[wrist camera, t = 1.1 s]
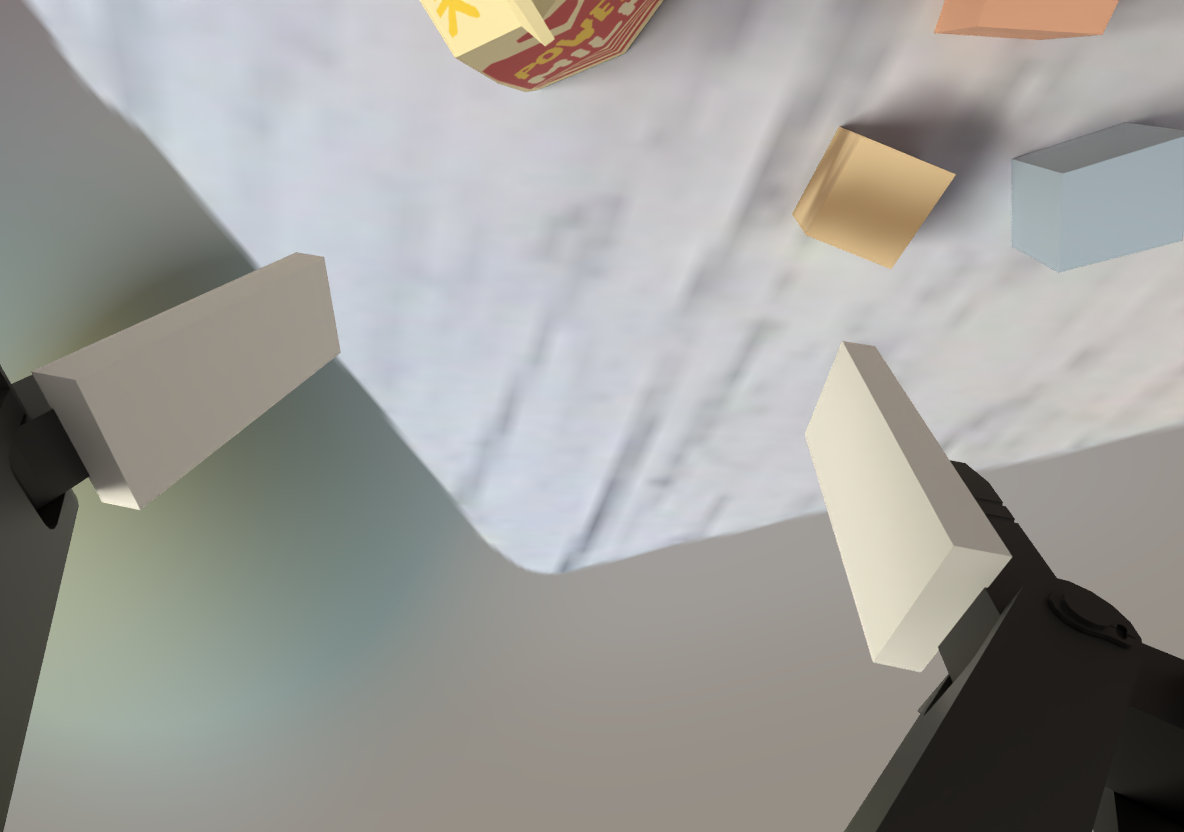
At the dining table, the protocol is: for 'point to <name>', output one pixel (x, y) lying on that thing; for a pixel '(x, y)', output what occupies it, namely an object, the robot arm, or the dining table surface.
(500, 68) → the milk carton
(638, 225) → the dining table surface
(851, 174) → the oak cube
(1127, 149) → the slate blue cube
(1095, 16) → the terracotta cube
